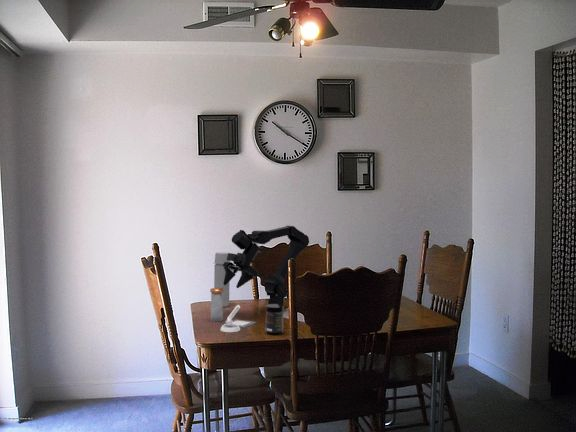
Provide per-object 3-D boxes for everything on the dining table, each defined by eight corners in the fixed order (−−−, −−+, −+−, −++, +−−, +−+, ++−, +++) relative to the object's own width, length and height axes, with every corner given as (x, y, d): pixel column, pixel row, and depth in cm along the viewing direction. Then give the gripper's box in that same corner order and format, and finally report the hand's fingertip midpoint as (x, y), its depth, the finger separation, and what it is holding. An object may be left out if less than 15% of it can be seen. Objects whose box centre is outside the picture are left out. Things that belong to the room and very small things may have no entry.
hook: (252, 319, 201) (237, 309, 200) (233, 343, 203) (218, 333, 202) (251, 311, 209) (237, 301, 207) (233, 333, 210) (219, 324, 209)
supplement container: (286, 332, 204) (286, 305, 203) (277, 336, 198) (277, 308, 197) (271, 329, 207) (271, 303, 206) (262, 333, 201) (262, 306, 200)
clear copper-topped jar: (224, 318, 224) (224, 288, 223) (222, 321, 218) (223, 290, 218) (210, 318, 224) (211, 287, 223) (209, 321, 218) (209, 290, 218)
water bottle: (231, 307, 247) (231, 253, 246) (214, 307, 245) (214, 253, 244) (228, 303, 256) (229, 251, 255) (212, 303, 254) (212, 251, 253)
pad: (235, 320, 222) (235, 319, 222) (256, 323, 217) (256, 321, 217) (222, 325, 213) (222, 324, 213) (243, 328, 208) (243, 327, 208)
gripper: (223, 243, 234) (205, 273, 228) (250, 247, 220) (231, 279, 214) (239, 257, 240) (222, 286, 234) (266, 261, 226) (248, 293, 220)
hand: (230, 286), depth 225 cm, fingers open, 9 cm apart
